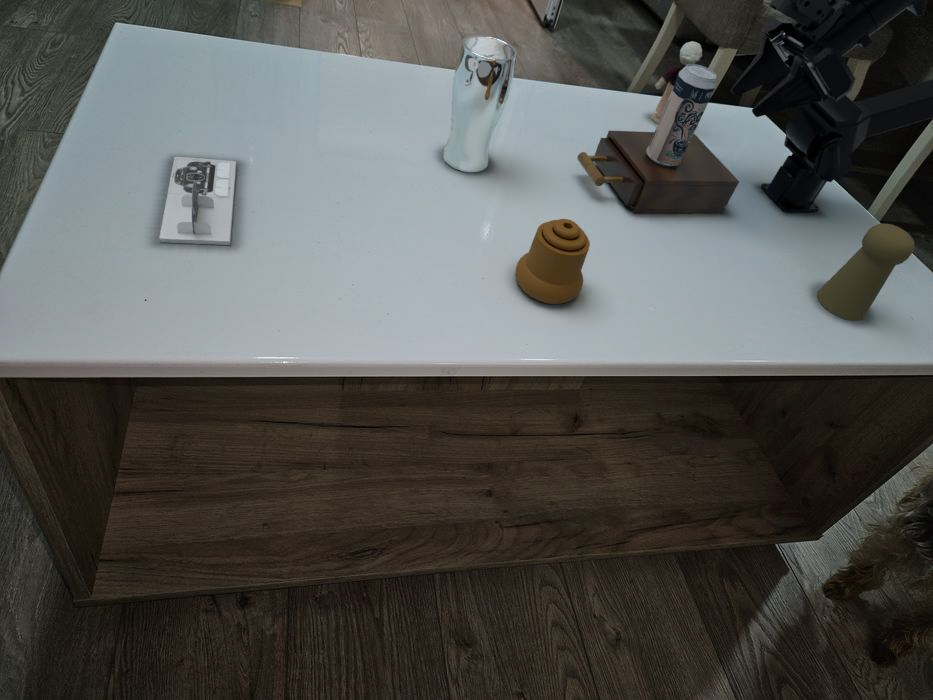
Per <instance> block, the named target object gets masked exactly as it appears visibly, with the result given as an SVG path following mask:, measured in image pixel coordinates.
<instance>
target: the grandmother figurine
mask: <svg viewBox="0 0 933 700" xmlns="http://www.w3.org/2000/svg"><path fill="white" fill-rule="evenodd" d="M702 57H703V48H702V45H701V43H698V42H697V41H692V40H691V41H688V42H686V43H684V44H683V45H682V47H681V48H680V50H679V61H680V64H681V65H675V66H671V67H670V68H669V69H668V70H666V72H664V73H663V74H662V75H661V77H660V79H659V80H658V82H656V83H655V84H654V87H655V89H656V90H660V89H662V87H663V86H664V85H665V84H667V86H666V87H665V90H664V92H663V94H662V96H661V98H660V100H659V102H658V103H657V106H656V108H655V112H656V113H653V114H652V115H651V116H650V117H651V120H652V121H654V122H655V123H656V124H657V125H658V123H659V120H660V118H661V116H662V113H663V111H664V108H665V106H666V104H667V101H668V99H669V97H670V94H671V92H672V90H673V87H674V85H675V83H676V80H677V78H678V76H679V72H680V71H681V70H682V69H683V68H684V67H685V66H686V65H688V64H696V63H697V62H699V61H700V60H701V58H702Z"/></svg>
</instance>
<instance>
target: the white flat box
mask: <svg viewBox="0 0 933 700" xmlns="http://www.w3.org/2000/svg"><path fill="white" fill-rule="evenodd" d="M236 173H237V160H228V159H214V158H201V157H187V156H186V157H185V156H174V157H173V162H172V168H171V173H170V178H169V183H168V189H167V194H166V198H165V199H166V200H165V204H164V205H165V206H164V209H163V210H164V211H163V215H162V219H161V226H160V231H159V236H158V242H159V243H166V244H167V243H170V244H171V243H172V244H191V245H192V244H194V245H217V246H218V245H219V246H231V241H232V226H233V215H234V212H233V211H234V199H235V190H236V189H235V187H236V175H237V174H236Z"/></svg>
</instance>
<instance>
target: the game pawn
mask: <svg viewBox="0 0 933 700" xmlns="http://www.w3.org/2000/svg"><path fill="white" fill-rule="evenodd" d="M914 250H915V240H914V239H913V237H912V235H910V233H908V232H907V231H906V230H905V229H903V228H901V227H899V226H897V225H894V224H890V223H878V224H875V225H873V226H872V227H870V228H869V229H868V230H867V231H866V232H865V234H864V235H863V238H862V240H861V247H860V248H859V249H858V250H857V251H856V252H855V253H854V254H853V255H852V256H851V258H849V259H848V260H847V261H846V262H845V263H844V264H843V265H842V266H841V268H839V269H838V270H837V271H836V272H835V273H834V274H833V275H832V276H831V278H829V280H827V281H826V282H825V283H824V284H823V285H822V287H820V289H818V291H816V292H817V297H816V298H817V299H818V301H819V303H820V304H821V306H822V307H823V308H825V309H826V310H827V311H828V312H829V313H831V314H833V315H834V316H836V317H838V318H840V319H843V320H846V321H850V322H859V321H862V320H863V319H864V318H865V316H866V315H867V313H868V312H869V310H870V308H871V307H872V305H873V303H874V302H875V300H876V298H877V297H878V295H879V293H880V292H881V290H882V289H883V287H884V285H885V284H886V283H887V280H888V279H889V277H890V275H891V274H892V273H893V270H894V269H895V267H896V266H897V265H901V264H903V263H905V262H906V261H907V260H908V259H909V258H910V257H911V256H912V254H913V252H914Z"/></svg>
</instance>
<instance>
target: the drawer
mask: <svg viewBox="0 0 933 700" xmlns="http://www.w3.org/2000/svg"><path fill="white" fill-rule="evenodd" d="M576 159H577V161H578V163H579V164H580V166H581V167H582V168H583V169H584V171H585V172H586V174H587V175H588V177H589V178H590V179H591V181H592V183H593V184H594V185H595V186H596V187H601V186H603V185H604V184H610V185H611V186H612V187H613V189H614V190H615V192H616V193H617V195H618V196H619V198H620V199H621V200H622V201H623V203H624V204H625V206H626V207H629V206H634V205H635V203H636V201H637V198H638V197H639V195H640V193H641V190H642V188H643V186H644V184H645V181H644V180H643V179H642V178H641V176H640V175H639V174H638V172H637V171H636V170H635V169H634V167H633V166H632V165H631V164H630V162H629V161H628V160H627V158H626V157H625V156H624V155H623V153H622V152H621V151H620V150H619V148H618V147H617V146H616V144H615V146H614V145H613V143H612V142H611V141H610V139H609V138H606V137H600V139H599V142H598V145H597V147H596V150H595V153H594V154H593V155H589V154H588V153H587V152H585V151H581V152H579V154H578V155H577V158H576ZM601 172H602V173H601Z"/></svg>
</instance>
